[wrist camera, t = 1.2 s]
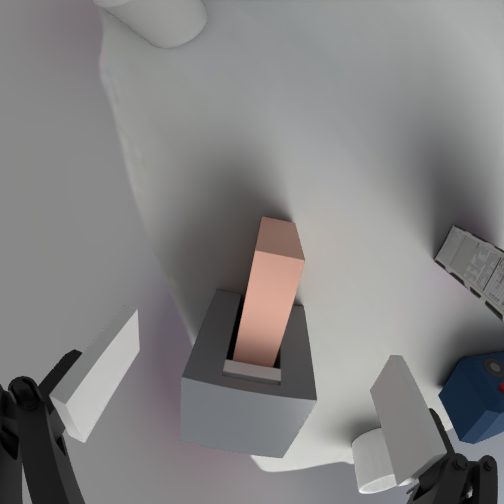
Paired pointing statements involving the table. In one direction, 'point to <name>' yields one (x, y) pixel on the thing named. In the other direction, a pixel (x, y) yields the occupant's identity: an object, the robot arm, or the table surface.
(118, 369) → the robot arm
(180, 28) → the beverage can
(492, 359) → the radio
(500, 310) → the candy bar box
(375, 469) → the mug
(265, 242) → the tall pink prism
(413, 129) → the table surface
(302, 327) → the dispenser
